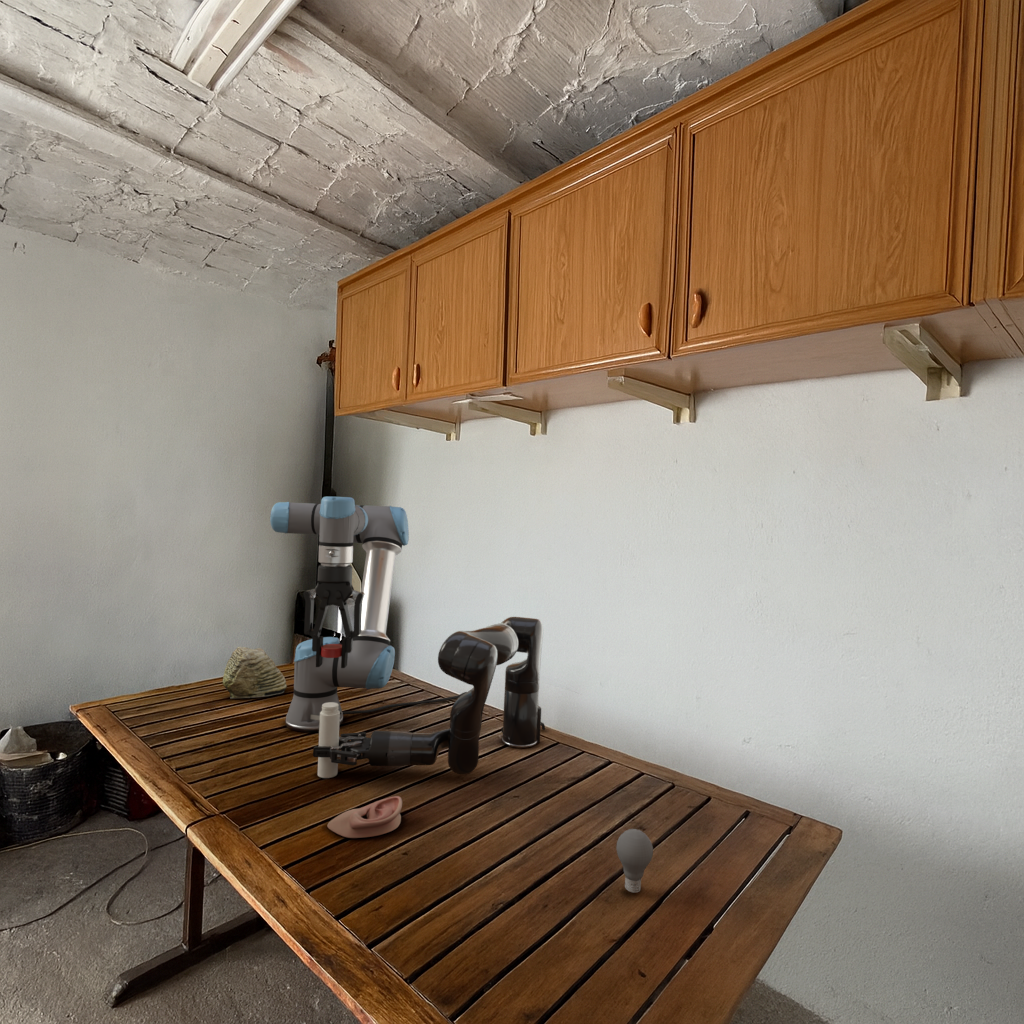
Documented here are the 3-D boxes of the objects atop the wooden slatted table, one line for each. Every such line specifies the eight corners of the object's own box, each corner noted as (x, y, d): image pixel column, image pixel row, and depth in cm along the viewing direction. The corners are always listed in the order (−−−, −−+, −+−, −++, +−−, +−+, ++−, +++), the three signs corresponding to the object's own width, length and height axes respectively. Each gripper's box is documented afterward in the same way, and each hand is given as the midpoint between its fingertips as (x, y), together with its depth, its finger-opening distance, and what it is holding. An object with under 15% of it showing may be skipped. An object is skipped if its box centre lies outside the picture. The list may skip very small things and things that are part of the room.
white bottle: (319, 779, 142) (322, 708, 142) (315, 771, 146) (318, 702, 145) (339, 776, 144) (342, 706, 144) (335, 768, 148) (337, 700, 147)
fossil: (218, 695, 195) (220, 647, 195) (278, 685, 208) (279, 640, 207) (228, 703, 189) (230, 653, 188) (289, 692, 201) (290, 645, 201)
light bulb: (610, 879, 108) (613, 822, 108) (644, 879, 109) (647, 822, 109) (619, 902, 102) (622, 840, 102) (655, 901, 103) (658, 840, 103)
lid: (347, 656, 144) (347, 647, 144) (326, 659, 141) (326, 650, 141) (337, 651, 148) (337, 643, 148) (316, 654, 145) (317, 645, 145)
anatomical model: (320, 812, 119) (347, 786, 130) (319, 833, 119) (347, 805, 130) (386, 822, 116) (408, 795, 127) (385, 844, 116) (408, 814, 128)
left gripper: (290, 564, 140) (286, 669, 140) (372, 567, 140) (367, 672, 141) (300, 561, 147) (297, 660, 148) (378, 564, 148) (374, 663, 148)
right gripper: (396, 721, 153) (324, 720, 152) (388, 744, 138) (308, 743, 137) (394, 752, 153) (322, 751, 152) (387, 778, 139) (307, 777, 137)
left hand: (331, 665), depth 144 cm, fingers closed on lid, 5 cm apart
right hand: (316, 747), depth 144 cm, fingers closed on white bottle, 4 cm apart
